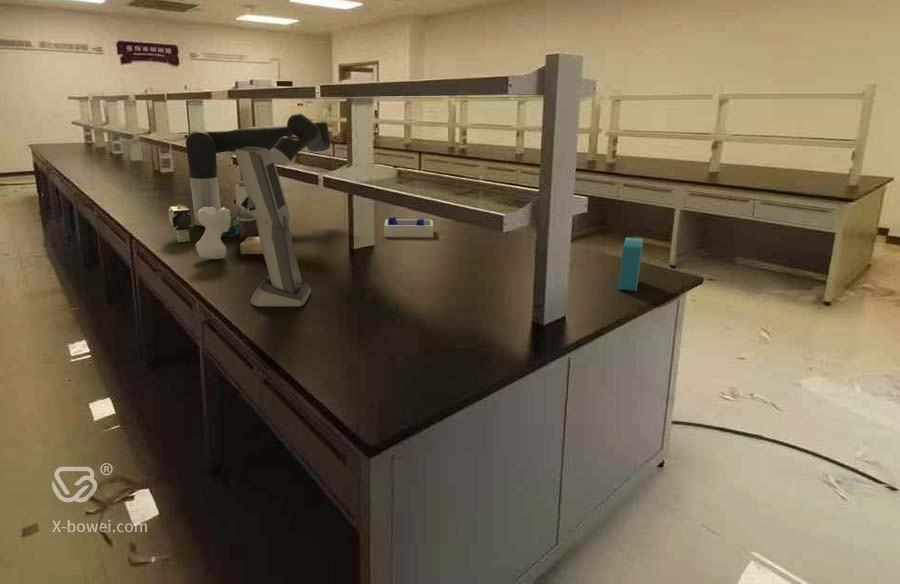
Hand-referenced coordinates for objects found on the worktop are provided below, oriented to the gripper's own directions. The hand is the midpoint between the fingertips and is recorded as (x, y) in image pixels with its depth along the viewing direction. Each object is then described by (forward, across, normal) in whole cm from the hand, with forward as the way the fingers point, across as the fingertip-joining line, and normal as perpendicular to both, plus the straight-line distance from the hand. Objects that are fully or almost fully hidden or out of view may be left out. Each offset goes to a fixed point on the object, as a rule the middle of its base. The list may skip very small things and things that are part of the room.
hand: (239, 205), depth 185 cm
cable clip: (-28, -21, -45) cm, 57 cm away
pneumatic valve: (+19, +14, +1) cm, 24 cm away
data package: (-35, -104, -51) cm, 121 cm away
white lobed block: (+18, -14, +1) cm, 23 cm away
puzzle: (+8, +15, -10) cm, 19 cm away
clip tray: (-28, -21, -45) cm, 57 cm away
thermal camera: (+19, -59, +2) cm, 62 cm away
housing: (+2, 0, -5) cm, 5 cm away
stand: (+8, -12, -9) cm, 17 cm away
